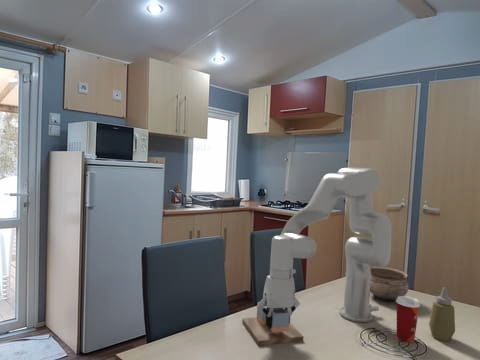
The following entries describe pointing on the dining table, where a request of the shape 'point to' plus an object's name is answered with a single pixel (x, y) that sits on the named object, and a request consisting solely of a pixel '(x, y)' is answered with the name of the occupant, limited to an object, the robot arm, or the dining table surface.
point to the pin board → (270, 333)
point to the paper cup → (407, 318)
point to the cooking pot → (388, 283)
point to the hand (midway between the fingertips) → (277, 325)
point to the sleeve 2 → (280, 320)
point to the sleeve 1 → (261, 315)
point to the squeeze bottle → (442, 317)
